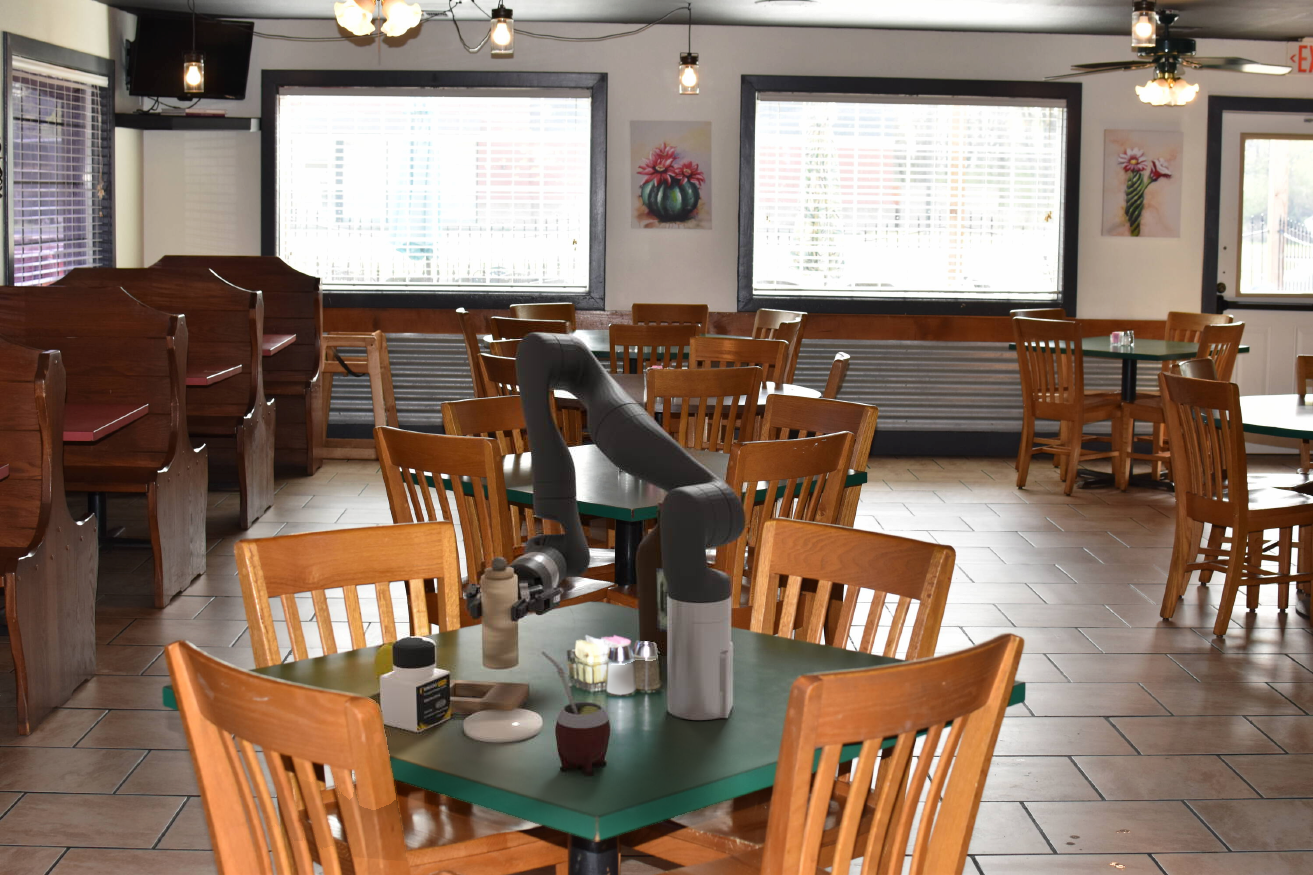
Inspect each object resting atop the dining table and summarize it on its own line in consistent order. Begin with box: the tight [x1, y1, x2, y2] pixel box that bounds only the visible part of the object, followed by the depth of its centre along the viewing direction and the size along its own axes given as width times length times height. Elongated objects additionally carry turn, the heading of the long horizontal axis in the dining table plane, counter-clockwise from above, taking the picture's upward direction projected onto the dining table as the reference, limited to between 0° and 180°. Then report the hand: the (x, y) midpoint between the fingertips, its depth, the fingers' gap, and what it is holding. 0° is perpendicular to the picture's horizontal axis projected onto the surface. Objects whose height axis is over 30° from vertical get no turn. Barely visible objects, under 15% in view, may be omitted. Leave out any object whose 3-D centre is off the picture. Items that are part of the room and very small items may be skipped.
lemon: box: [373, 640, 396, 685], centre depth 201 cm, size 6×6×8 cm
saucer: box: [462, 708, 543, 743], centre depth 186 cm, size 11×11×1 cm
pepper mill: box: [480, 556, 520, 670], centre depth 183 cm, size 5×5×15 cm
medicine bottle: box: [379, 635, 452, 734], centre depth 188 cm, size 7×7×12 cm
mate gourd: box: [541, 650, 611, 777], centre depth 170 cm, size 8×8×15 cm
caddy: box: [450, 678, 530, 715], centre depth 195 cm, size 13×9×2 cm
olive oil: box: [635, 499, 667, 655], centre depth 222 cm, size 11×11×25 cm
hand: (494, 613), depth 181 cm, fingers closed on pepper mill, 5 cm apart
